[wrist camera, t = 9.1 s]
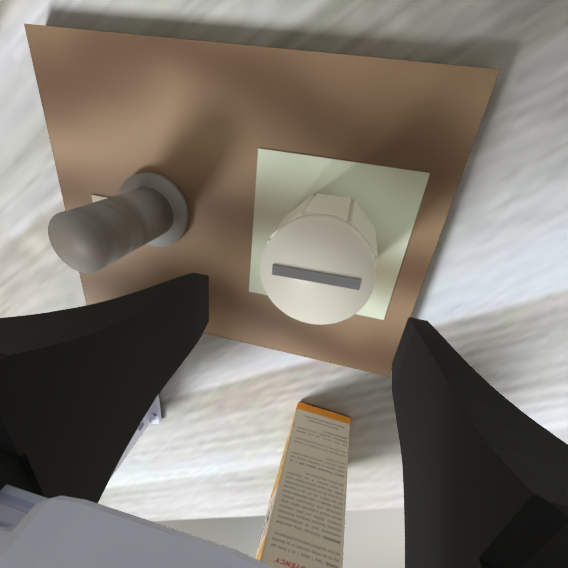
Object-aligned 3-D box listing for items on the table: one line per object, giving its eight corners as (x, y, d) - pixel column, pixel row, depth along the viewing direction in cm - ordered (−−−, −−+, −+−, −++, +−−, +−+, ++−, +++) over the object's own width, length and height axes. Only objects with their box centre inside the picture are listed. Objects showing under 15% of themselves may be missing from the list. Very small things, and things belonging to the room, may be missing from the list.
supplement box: (296, 398, 27) (246, 601, 16) (352, 415, 26) (342, 639, 15) (280, 456, 31) (230, 651, 20) (328, 472, 30) (306, 682, 19)
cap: (382, 201, 17) (388, 230, 13) (362, 286, 20) (362, 335, 15) (287, 189, 18) (262, 212, 13) (280, 272, 20) (257, 314, 16)
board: (387, 365, 23) (397, 463, 17) (97, 297, 27) (8, 356, 20) (490, 72, 15) (594, 33, 8) (43, 29, 18) (-143, -24, 12)
